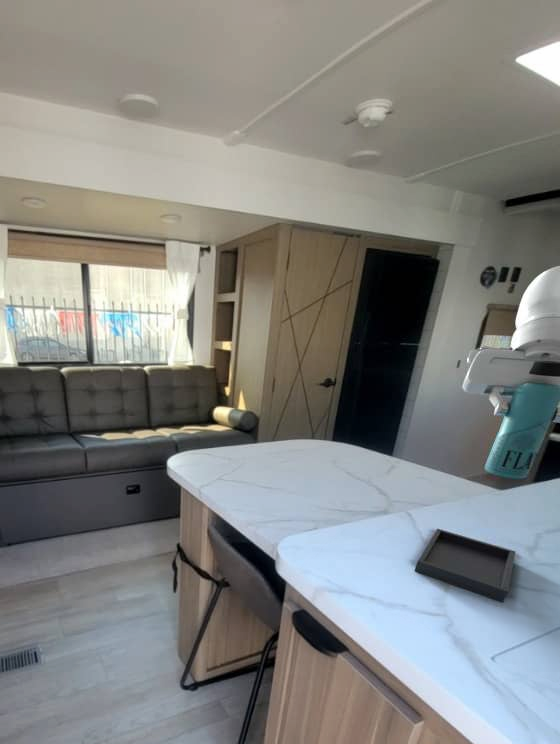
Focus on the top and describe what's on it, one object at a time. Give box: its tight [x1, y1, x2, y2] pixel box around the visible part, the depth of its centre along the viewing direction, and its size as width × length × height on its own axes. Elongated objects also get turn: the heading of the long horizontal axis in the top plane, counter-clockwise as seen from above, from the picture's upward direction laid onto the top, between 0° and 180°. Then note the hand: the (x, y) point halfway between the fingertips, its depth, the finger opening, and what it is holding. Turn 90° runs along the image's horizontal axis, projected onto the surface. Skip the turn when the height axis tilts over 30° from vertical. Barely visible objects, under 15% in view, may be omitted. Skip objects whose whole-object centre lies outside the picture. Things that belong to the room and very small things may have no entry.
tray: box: [414, 528, 516, 603], centre depth 72 cm, size 17×13×2 cm
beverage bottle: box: [484, 361, 560, 480], centre depth 68 cm, size 6×7×20 cm
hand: (529, 416), depth 66 cm, fingers closed on beverage bottle, 6 cm apart
